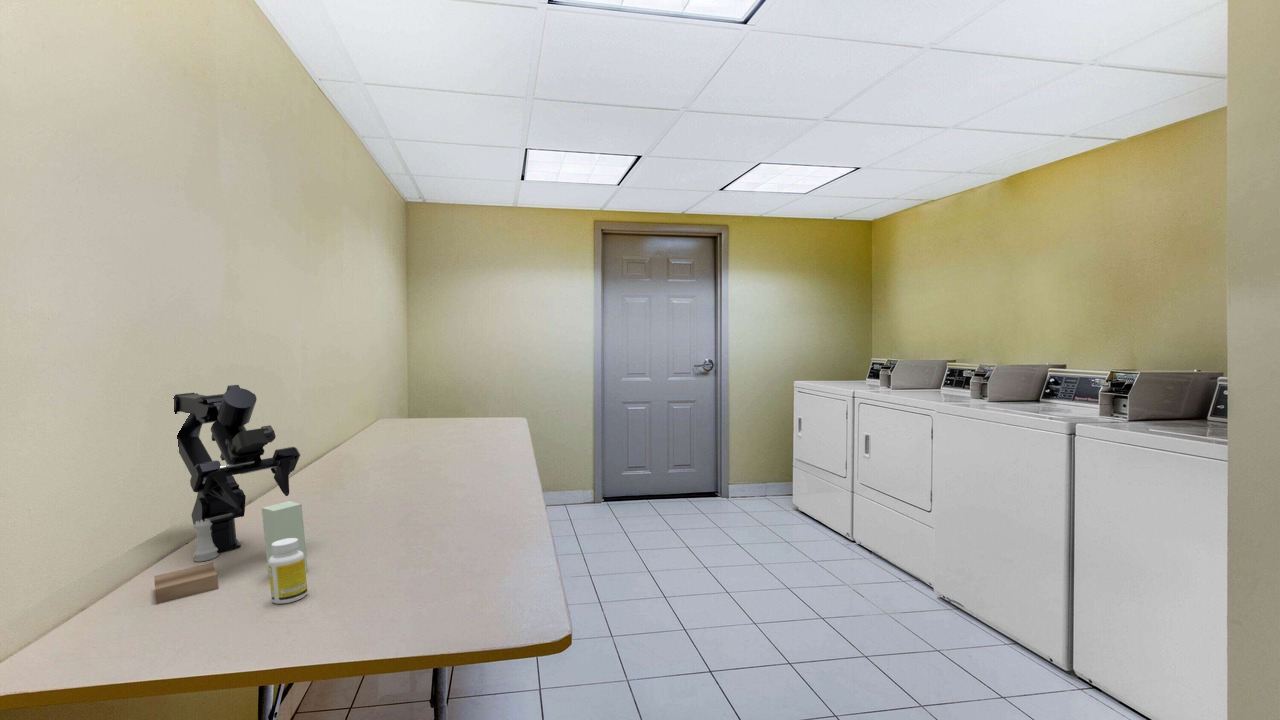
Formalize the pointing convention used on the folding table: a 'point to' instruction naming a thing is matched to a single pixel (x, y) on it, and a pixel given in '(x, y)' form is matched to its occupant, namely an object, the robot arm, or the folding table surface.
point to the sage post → (283, 526)
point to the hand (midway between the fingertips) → (263, 500)
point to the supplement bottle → (287, 572)
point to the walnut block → (185, 583)
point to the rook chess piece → (204, 542)
